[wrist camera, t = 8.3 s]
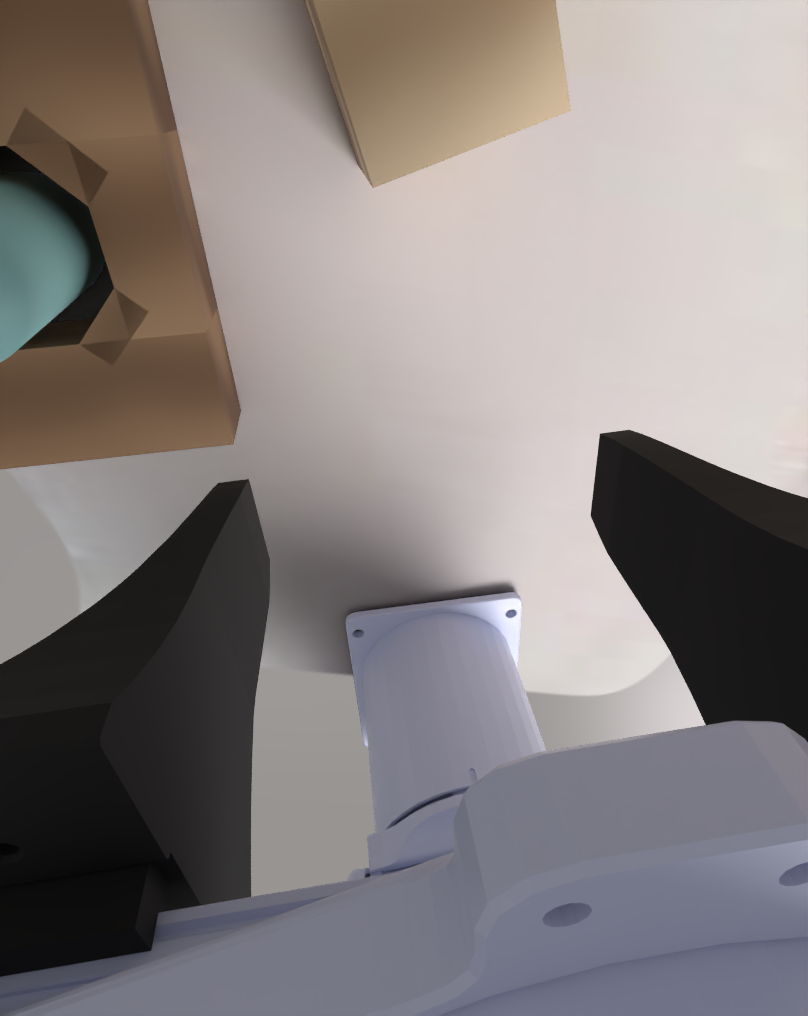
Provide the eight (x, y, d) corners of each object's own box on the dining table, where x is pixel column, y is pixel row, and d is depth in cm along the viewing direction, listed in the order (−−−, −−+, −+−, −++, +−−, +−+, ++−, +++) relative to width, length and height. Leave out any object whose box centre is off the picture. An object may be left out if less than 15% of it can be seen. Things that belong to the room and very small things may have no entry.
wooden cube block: (509, 107, 17) (570, 110, 13) (359, 166, 18) (373, 187, 14) (469, -108, 15) (529, -186, 11) (293, -33, 15) (287, -81, 11)
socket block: (240, 410, 21) (233, 443, 19) (-27, 438, 21) (-64, 476, 19) (137, -46, 15) (108, -69, 13) (-264, -26, 14) (-363, -47, 12)
